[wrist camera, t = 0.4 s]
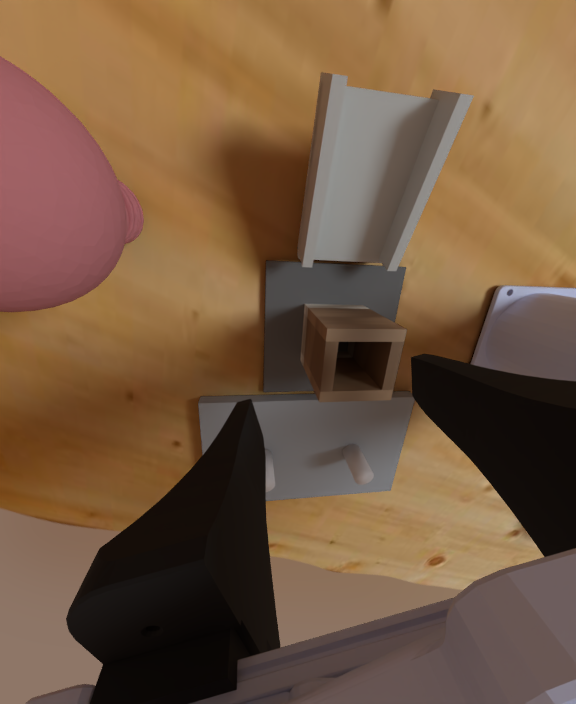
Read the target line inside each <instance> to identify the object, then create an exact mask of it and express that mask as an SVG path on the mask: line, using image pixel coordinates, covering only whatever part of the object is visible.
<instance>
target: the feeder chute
mask: <svg viewBox="0 0 576 704" xmlns="http://www.w3.org/2000/svg"><path fill="white" fill-rule="evenodd" d="M347 78H348V76H342V75H336V74H329V73H322V72H321V76H320V83H319V91H318V98H317V106H316V113H315V121H314V128H313V135H312V143H311V150H310V158H309V165H308V173H307V180H306V187H305V195H304V202H303V210H302V217H301V225H300V232H299V239H298V247H297V249H298V253H297V255H298V259H300V260H301V264H302V267H310V268H312V266H313V260H330V261H351V262H372V263H382V264H383V265H384V267H385V268H386V270H387V271H396V270H397V268H398V266H399V263H400V261H401V259H402V257H403V254H404V252H405V250H406V248H407V245H408V243H409V241H410V239H411V236H412V234H413V232H414V230H415V227H416V225H417V223H418V221H419V218H420V216H421V214H422V212H423V209H424V207H425V205H426V203H427V200H428V198H429V196H430V194H431V191H432V189H433V187H434V185H435V182H436V180H437V178H438V176H439V173H440V171H441V169H442V167H443V164H444V162H445V160H446V158H447V155H448V153H449V151H450V148H451V146H452V144H453V142H454V139H455V137H456V135H457V133H458V130H459V128H460V126H461V124H462V121H463V119H464V117H465V115H466V112H467V110H468V108H469V106H470V103H471V101H472V99H473V97H474V96H473V95H466V94H460V93H453V92H446V91H440V90H433V92H432V94H431V97H430V98H424V97H418V96H411V95H404V94H397V93H391V92H384V91H377V90H370V89H364V88H357V87H350V86H346V84H347Z"/></svg>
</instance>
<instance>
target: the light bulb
mask: <svg viewBox="0 0 576 704" xmlns="http://www.w3.org/2000/svg"><path fill="white" fill-rule="evenodd" d="M143 222H144V219H143V212H142V208H141V206H140V204H139V201H138V199H137V198H136V196H135V195H134V193H133V192H132V191H131V190H130V189H129V188H128V187H127V186H126V185H124V184H123V183H122V182H120V181H119V180H117V178H116V175H115V173H114V171H113V169H112V167H111V165H110V163H109V162H108V160H107V158H106V157H105V155H104V153H103V152H102V150H101V148H100V147H99V145H98V144H97V142H96V141H95V140H94V138H93V137H92V136H91V135H90V133H89V132H88V131H87V129H86V128H85V127H84V125H83V124H82V123H81V122H80V121H79V120H78V119H77V118H76V117H75V116H74V115H73V114H72V113H71V112H70V110H69V109H68V108H67V107H66V106H65V105H63V104H62V103H61V102H60V101H59V100H58V99H57V98H56V97H55V96H54V95H53V94H52V93H51V92H50V91H49V90H47V89H46V88H45V87H44V86H42V85H41V84H40V83H39V82H37V81H36V80H35V79H34V78H32V77H31V76H30V75H28V74H27V73H25V72H24V71H23V70H21V69H20V68H18V67H17V66H15V65H14V64H12V63H10V62H9V61H7V60H5V59H4V58H2V57H0V311H2V312H20V311H35V310H40V309H46V308H51V307H55V306H59V305H62V304H65V303H68V302H71V301H73V300H75V299H77V298H79V297H81V296H83V295H85V294H87V293H88V292H90V291H91V290H93V289H94V288H96V287H97V286H98V285H99V284H100V283H101V282H102V281H103V280H105V279H106V278H107V277H108V275H109V274H110V273H111V271H112V270H113V269H114V267H115V266H116V264H117V262H118V260H119V258H120V256H121V253H122V251H123V248H124V244H126V243H129V242H132V241H133V240H135V239H136V238H137V237H138V236H139V234H140V233H141V231H142V228H143Z"/></svg>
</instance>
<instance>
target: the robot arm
mask: <svg viewBox="0 0 576 704" xmlns="http://www.w3.org/2000/svg"><path fill="white" fill-rule="evenodd" d="M508 291H509V292H508ZM507 292H508V294H507ZM411 368H412V396H413V398H414V399H415V400H416V402H417V403H418V405H419V406H420V407H421V409H422V410H423V411H424V412H425V414H426V415H427V416H428V417H429V418H430V419H431V420H432V421H433V422H434V423H435V424H436V425H437V426H438V427H439V428H440V429H441V430H442V431H443V432H444V433H445V434H446V435H447V436H448V437H449V438H450V439H451V440H452V441H453V442H454V443H455V444H456V445H457V446H458V447H459V448H460V449H461V450H462V451H463V452H464V453H465V454H466V455H467V456H468V457H469V458H470V460H471V461H472V462H473V463H474V464H475V465H476V466H477V468H478V469H479V470H480V471H481V473H482V474H483V475H484V476H485V477H486V479H487V480H488V481H489V482H490V483H491V485H492V486H493V487H494V489H495V490H496V491H497V492H498V494H499V495H500V496H501V498H502V499H503V500H504V501H505V503H506V504H507V505H508V507H509V508H510V509H511V511H512V512H513V513H514V515H515V516H516V517H517V519H518V520H519V522H520V523H521V524H522V526H523V527H524V528H525V530H526V531H527V532H528V534H529V535H530V537H531V538H532V539H533V541H534V542H535V544H536V545H537V547H538V548H539V549H540V551H541V552H542V554H543V555H544V558H540V559H537V560H533V561H530V562H526V563H523V564H519V565H516V566H512V567H509V568H505V569H502V570H499V571H497V572H495V573H492V574H490V575H488V576H485V577H483V578H481V579H478V580H476V581H474V582H473V583H472V584H470V585H469V586H468V587H467V588H466V589H464V590H463V591H462V592H461V593H459V594H458V595H457V596H456V597H454V598H451V599H447V600H444V601H441V602H437V603H434V604H430V605H427V606H423V607H420V608H416V609H413V610H410V611H406V612H402V613H399V614H396V615H392V616H389V617H385V618H382V619H378V620H375V621H371V622H368V623H364V624H361V625H357V626H354V627H350V628H347V629H343V630H340V631H337V632H333V633H330V634H326V635H323V636H319V637H316V638H313V639H309V640H305V641H302V642H298V643H295V644H292V645H288V646H285V647H281V648H280V640H279V632H278V624H277V617H276V608H275V599H274V591H273V582H272V574H271V564H270V554H269V544H268V534H267V523H266V455H265V446H264V438H263V434H262V430H261V427H260V424H259V421H258V418H257V415H256V412H255V409H254V406H253V403H252V400H251V399H247V400H243V401H240V402H237V403H236V405H235V407H234V408H233V410H232V412H231V413H230V415H229V417H228V419H227V420H226V422H225V424H224V425H223V427H222V428H221V430H220V432H219V433H218V435H217V436H216V438H215V439H214V441H213V442H212V443H211V445H210V446H209V448H208V449H207V450H206V452H205V453H204V454H203V456H202V457H201V458H200V459H199V460H198V462H197V463H196V464H195V465H194V466H193V467H192V469H191V470H190V471H189V472H188V473H187V474H186V475H185V476H184V477H183V478H182V479H181V480H180V481H179V482H178V483H177V484H176V485H175V486H174V487H173V488H172V489H171V490H170V491H169V492H168V493H167V494H166V495H165V496H164V497H163V498H162V499H161V500H160V501H159V502H157V503H156V504H155V505H154V506H153V507H152V508H151V509H149V510H148V511H147V512H146V513H145V514H144V515H142V516H141V517H140V518H139V519H138V520H136V521H135V522H134V523H133V524H131V525H130V526H129V527H127V528H126V529H125V530H123V531H122V532H121V533H120V534H118V535H117V536H116V537H114V538H113V539H112V540H110V541H109V542H108V543H107V544H105V545H104V546H102V547H101V548H100V549H99V551H98V553H97V555H96V557H95V559H94V561H93V563H92V565H91V567H90V569H89V571H88V573H87V575H86V577H85V579H84V581H83V583H82V585H81V587H80V589H79V591H78V593H77V595H76V597H75V599H74V601H73V603H72V605H71V607H70V609H69V612H68V615H67V618H66V620H67V625H68V629H69V632H70V633H71V635H72V636H73V637H74V638H75V640H76V641H77V642H79V643H80V644H81V645H82V646H83V647H84V648H85V649H86V650H88V651H89V652H90V653H91V654H92V655H93V656H94V657H96V658H97V659H98V660H99V661H100V662H102V664H103V667H102V670H101V672H100V675H99V678H98V681H97V684H96V686H94V685H89V684H82V685H76V686H73V687H69V688H65V689H62V690H58V691H55V692H51V693H48V694H44V695H41V696H37V697H34V698H31V699H30V700H29V701H28V702H26V704H576V288H562V287H536V286H510V285H501V286H499V287H498V288H497V289H496V291H495V293H494V296H493V299H492V302H491V305H490V308H489V311H488V314H487V317H486V320H485V323H484V326H483V329H482V332H481V334H480V337H479V340H478V343H477V346H476V349H475V352H474V355H473V358H472V361H471V364H468V363H464V362H460V361H456V360H451V359H447V358H443V357H439V356H434V355H429V354H422V355H418V356H414V357H411Z"/></svg>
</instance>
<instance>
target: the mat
mask: <svg viewBox="0 0 576 704" xmlns="http://www.w3.org/2000/svg"><path fill="white" fill-rule="evenodd" d="M405 270H406V267H398V268H397V270H396V271H387V270H386V268H385V267H384V266H375V265H353V264H332V263H313V266H312V268H310V267H302V264H301V262H289V261H268V260H266V288H265V338H264V388H263V390H264V392H289V391H314V390H313V387H312V385H311V383H310V381H309V378H308V376H307V374H306V372H305V369H304V367H303V365H302V362H301V360H300V359H301V346H302V333H303V319H304V306H305V304H334V305H363V306H365V307H367V308H369V309H371V310H373V311H374V312H376V313H378V314H380V315H382V316H383V317H385V318H387V319H389V320H391V321H393V322H394V323H395V318H396V314H397V309H398V304H399V299H400V294H401V290H402V285H403V280H404V275H405ZM347 349H348V342H339V344H338V352H347Z"/></svg>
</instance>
